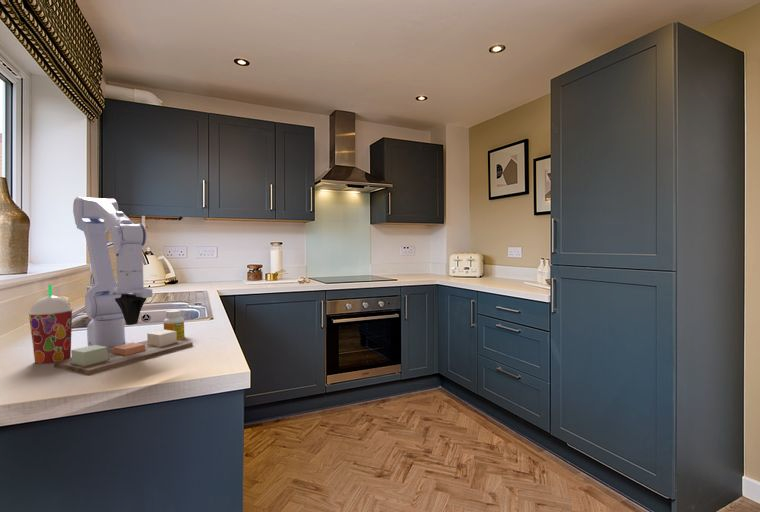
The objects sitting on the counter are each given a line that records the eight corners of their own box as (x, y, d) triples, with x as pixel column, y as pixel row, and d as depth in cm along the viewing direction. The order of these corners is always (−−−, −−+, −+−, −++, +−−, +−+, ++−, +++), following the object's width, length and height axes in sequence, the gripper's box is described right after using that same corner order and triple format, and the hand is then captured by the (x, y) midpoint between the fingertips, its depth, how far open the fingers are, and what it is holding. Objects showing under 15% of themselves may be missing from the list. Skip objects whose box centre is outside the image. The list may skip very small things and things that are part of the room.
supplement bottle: (176, 346, 116) (175, 312, 115) (159, 345, 117) (158, 312, 116) (188, 341, 121) (187, 309, 120) (173, 340, 122) (172, 309, 122)
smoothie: (74, 358, 104) (71, 282, 103) (75, 366, 97) (71, 284, 97) (31, 365, 99) (28, 284, 98) (29, 373, 92) (25, 287, 92)
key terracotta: (113, 363, 100) (112, 347, 100) (133, 357, 104) (132, 342, 104) (125, 365, 97) (124, 349, 97) (145, 359, 102) (144, 344, 102)
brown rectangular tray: (54, 373, 92) (53, 362, 92) (159, 346, 116) (159, 337, 115) (88, 381, 86) (88, 370, 86) (192, 351, 109) (192, 342, 109)
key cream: (147, 348, 108) (147, 333, 108) (164, 343, 112) (164, 329, 112) (159, 350, 105) (159, 335, 105) (176, 345, 110) (176, 331, 110)
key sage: (72, 367, 92) (71, 350, 91) (95, 361, 96) (95, 344, 96) (84, 370, 89) (83, 352, 89) (108, 363, 94) (107, 347, 94)
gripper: (96, 271, 101) (98, 324, 102) (131, 273, 95) (133, 330, 95) (125, 269, 108) (126, 319, 108) (159, 271, 101) (161, 324, 102)
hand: (131, 324), depth 102 cm, fingers closed
